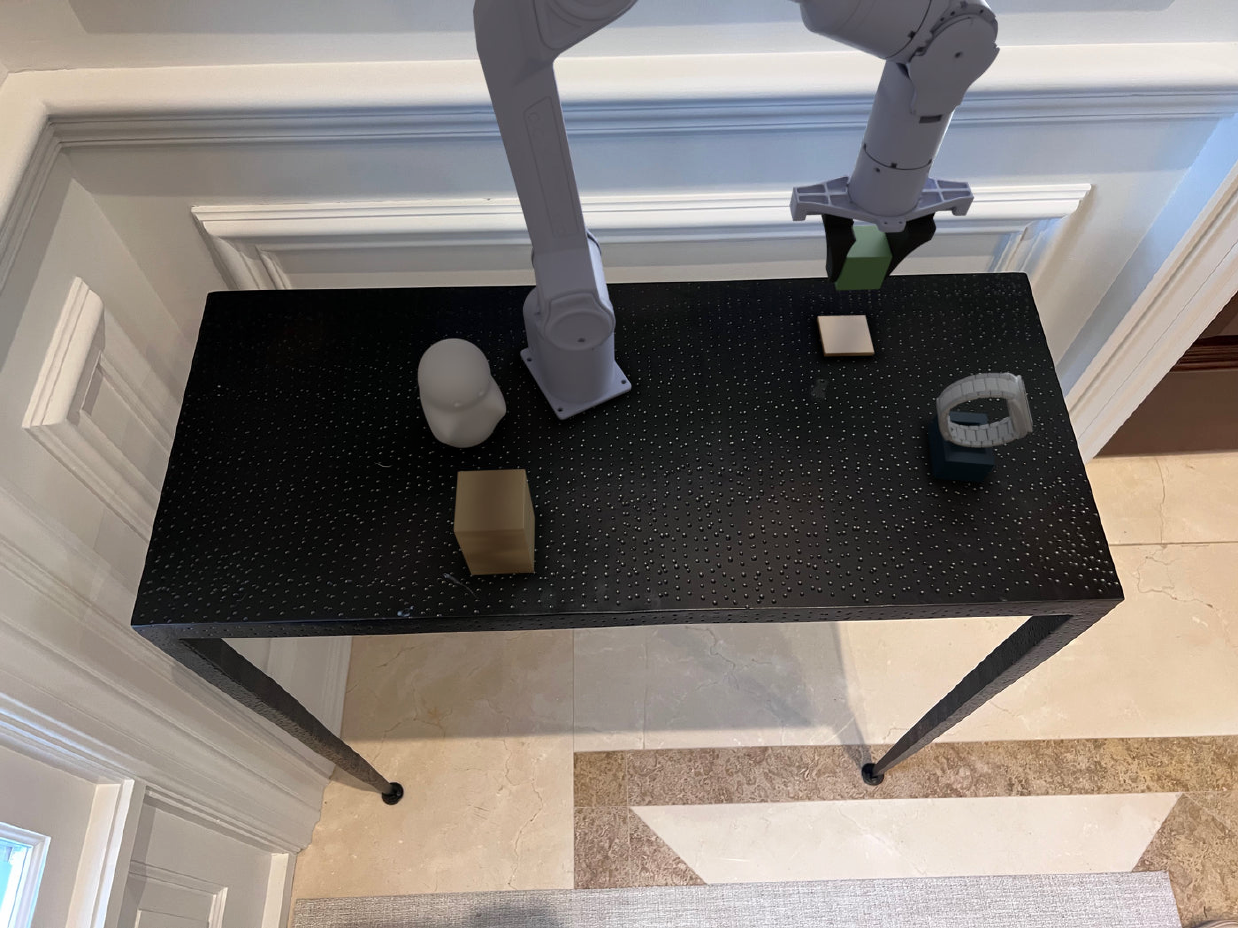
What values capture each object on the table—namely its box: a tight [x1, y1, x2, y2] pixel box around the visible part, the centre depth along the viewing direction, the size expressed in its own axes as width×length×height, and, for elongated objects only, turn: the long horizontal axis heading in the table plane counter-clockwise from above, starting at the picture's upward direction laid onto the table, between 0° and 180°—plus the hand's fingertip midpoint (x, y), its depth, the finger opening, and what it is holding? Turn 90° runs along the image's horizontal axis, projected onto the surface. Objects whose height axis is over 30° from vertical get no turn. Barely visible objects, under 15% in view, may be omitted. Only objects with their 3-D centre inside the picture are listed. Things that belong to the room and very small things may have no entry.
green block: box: [833, 224, 892, 291], centre depth 71 cm, size 4×4×4 cm
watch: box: [927, 372, 1034, 483], centre depth 69 cm, size 6×8×11 cm
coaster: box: [816, 314, 875, 357], centre depth 81 cm, size 5×5×1 cm
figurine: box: [417, 338, 507, 449], centre depth 71 cm, size 7×8×12 cm
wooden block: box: [453, 468, 536, 576], centre depth 66 cm, size 5×5×8 cm
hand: (855, 273), depth 72 cm, fingers closed on green block, 4 cm apart
